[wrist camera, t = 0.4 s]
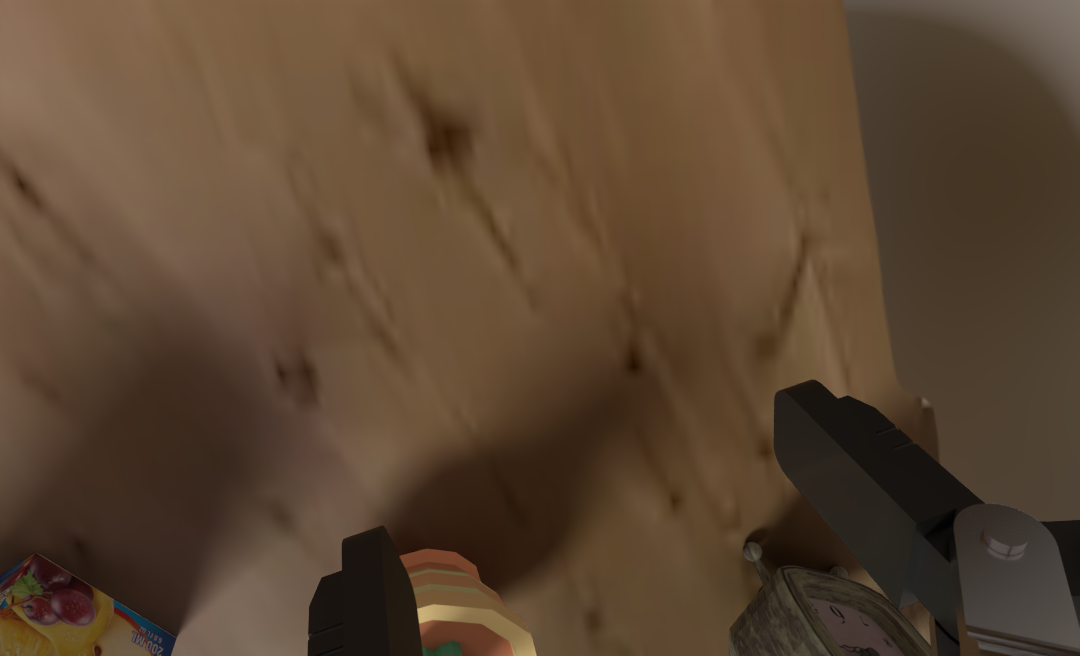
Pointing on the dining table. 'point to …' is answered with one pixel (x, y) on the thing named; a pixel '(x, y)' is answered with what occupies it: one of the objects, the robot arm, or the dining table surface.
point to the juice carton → (69, 617)
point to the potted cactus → (462, 609)
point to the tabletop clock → (820, 617)
